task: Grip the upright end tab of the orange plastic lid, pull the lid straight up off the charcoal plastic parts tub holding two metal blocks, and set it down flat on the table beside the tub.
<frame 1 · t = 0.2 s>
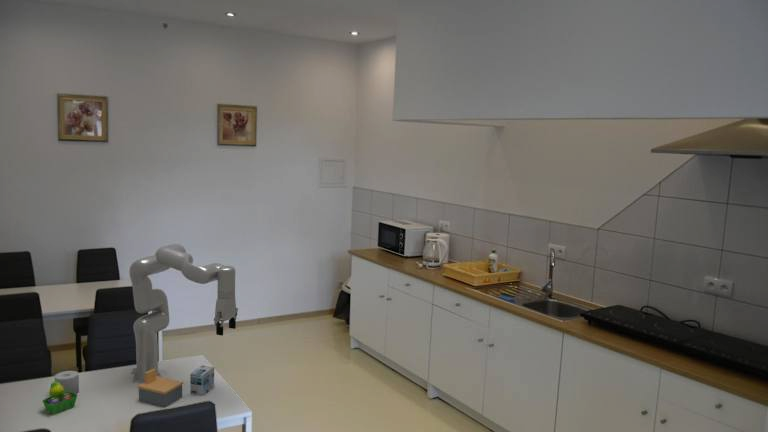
hand: (226, 331, 256), 31 cm above the table, tool pointing down, fingers open, 9 cm apart
fruit basket: (59, 409, 244), on the table
brass block: (167, 398, 255), point 1 cm above the table, touching tub
steel block: (154, 398, 254), point 1 cm above the table, touching tub
toilet tissue: (68, 392, 260), on the table
light bulb box: (202, 392, 265), on the table
lid: (160, 387, 254), point 6 cm above the table, touching tub
tub: (160, 401, 255), on the table
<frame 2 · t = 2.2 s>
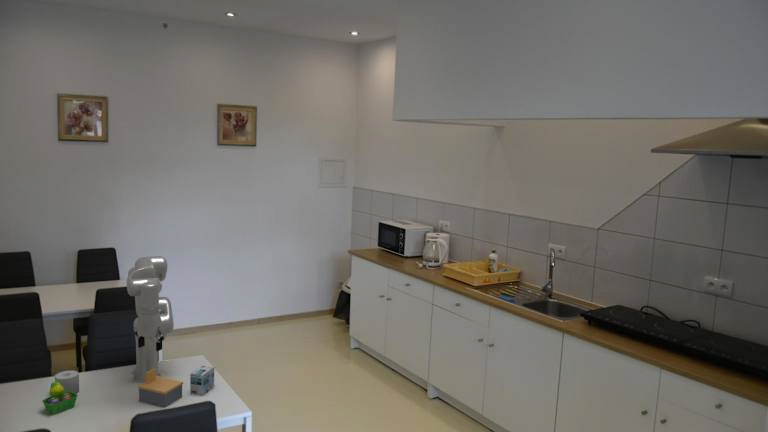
hand: (150, 348, 253), 23 cm above the table, tool pointing down, fingers open, 9 cm apart
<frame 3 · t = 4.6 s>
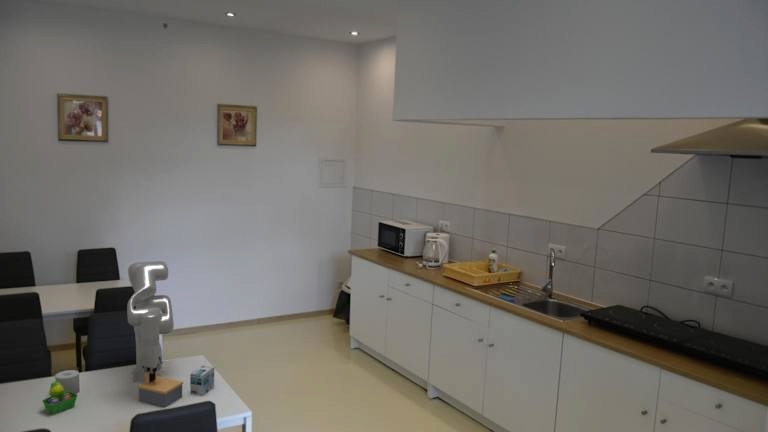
hand: (150, 380, 255), 9 cm above the table, tool pointing down, fingers closed on lid
lid: (160, 387, 254), point 6 cm above the table, touching gripper
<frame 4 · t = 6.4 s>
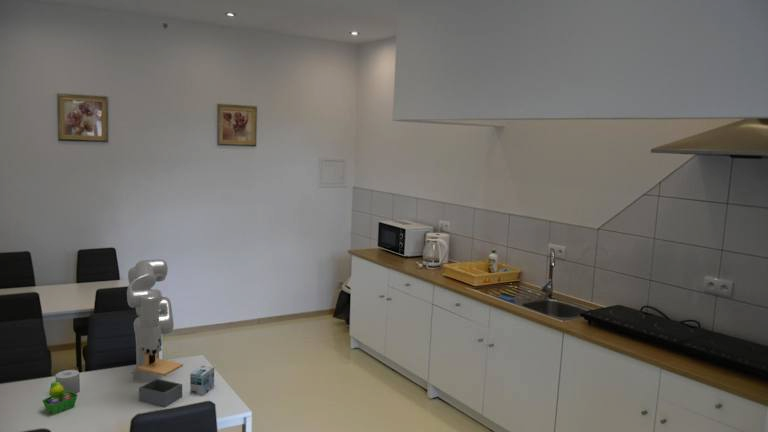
hand: (150, 362, 255), 17 cm above the table, tool pointing down, fingers closed on lid
lid: (160, 369, 253), point 14 cm above the table, touching gripper
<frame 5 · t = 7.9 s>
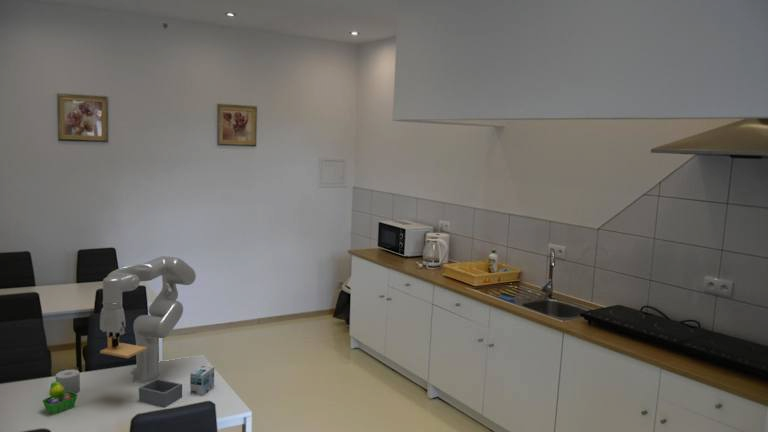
hand: (113, 345, 252), 24 cm above the table, tool pointing down, fingers closed on lid
lid: (123, 353, 250), point 22 cm above the table, touching gripper
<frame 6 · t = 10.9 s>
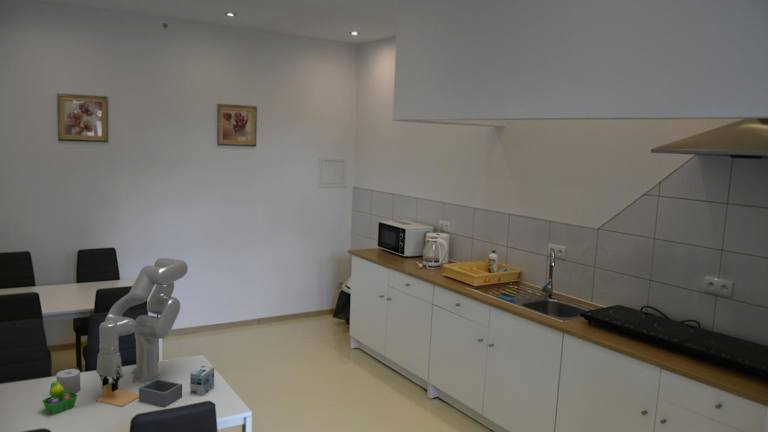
hand: (110, 388, 255), 4 cm above the table, tool pointing down, fingers open, 4 cm apart
lid: (119, 401, 254), on the table
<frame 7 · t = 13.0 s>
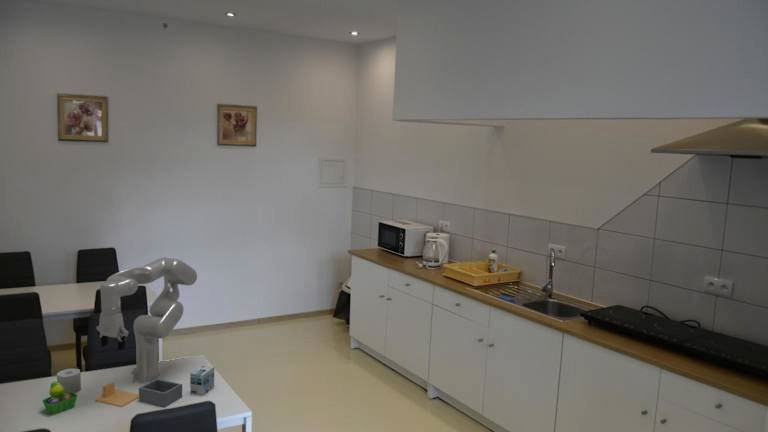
hand: (113, 347, 253), 23 cm above the table, tool pointing down, fingers open, 9 cm apart
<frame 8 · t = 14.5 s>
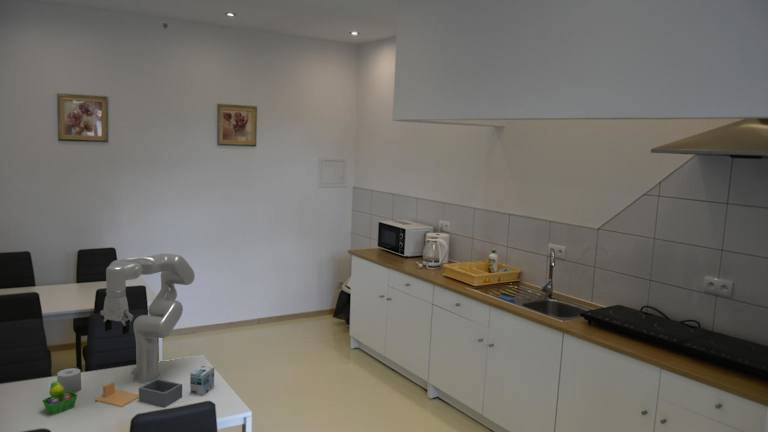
hand: (117, 331, 252), 30 cm above the table, tool pointing down, fingers open, 9 cm apart
at the end: lid inside the target area (1.2 cm from its centre), on the table; lid tilted 0°; the gripper is holding nothing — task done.
